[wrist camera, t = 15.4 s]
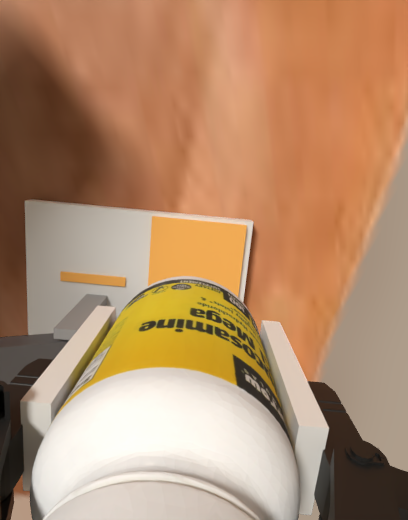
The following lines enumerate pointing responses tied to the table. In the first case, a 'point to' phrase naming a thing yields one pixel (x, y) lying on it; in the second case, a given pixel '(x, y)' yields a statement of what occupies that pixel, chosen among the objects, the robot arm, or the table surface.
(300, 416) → the robot arm
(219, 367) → the pill bottle
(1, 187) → the table surface
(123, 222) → the breaker panel
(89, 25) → the table surface
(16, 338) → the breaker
